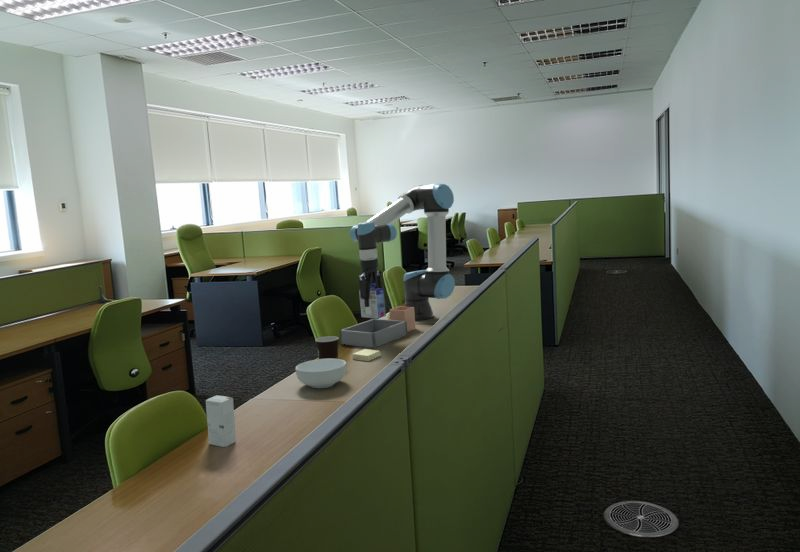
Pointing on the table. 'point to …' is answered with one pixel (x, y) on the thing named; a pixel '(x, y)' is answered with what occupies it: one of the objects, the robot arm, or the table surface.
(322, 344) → the coffee mug
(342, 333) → the grey bin
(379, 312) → the ink cartridge box
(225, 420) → the skincare box
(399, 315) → the pen holder
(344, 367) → the cereal bowl
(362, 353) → the sticky note pad
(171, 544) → the table surface
